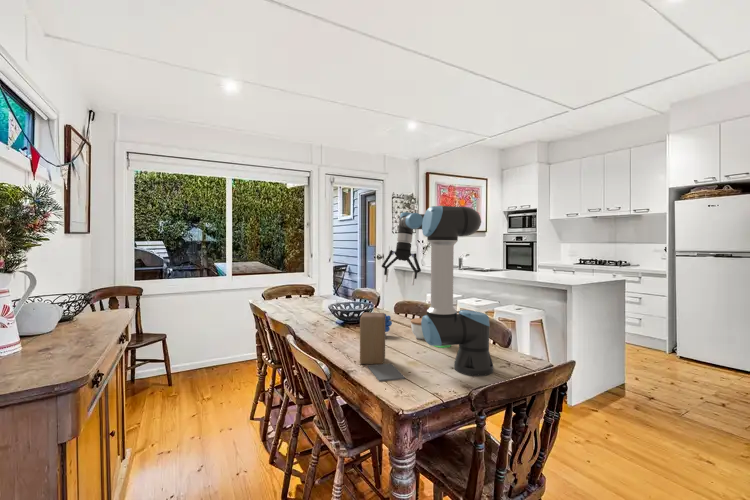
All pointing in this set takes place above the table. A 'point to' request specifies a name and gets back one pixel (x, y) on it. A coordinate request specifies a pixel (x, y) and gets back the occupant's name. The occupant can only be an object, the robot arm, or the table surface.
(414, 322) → the lidded bowl
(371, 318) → the wooden block
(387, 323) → the grapes
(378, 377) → the rubber mat
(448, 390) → the table surface
